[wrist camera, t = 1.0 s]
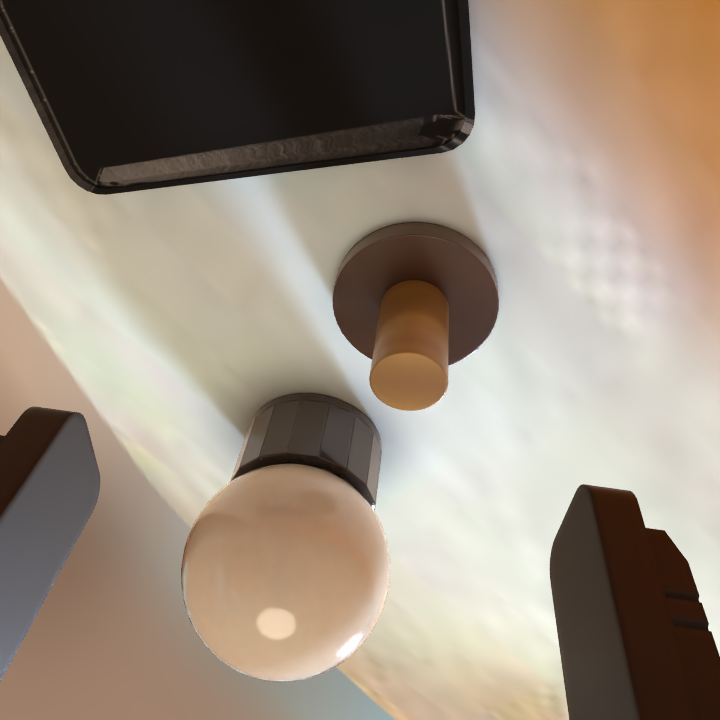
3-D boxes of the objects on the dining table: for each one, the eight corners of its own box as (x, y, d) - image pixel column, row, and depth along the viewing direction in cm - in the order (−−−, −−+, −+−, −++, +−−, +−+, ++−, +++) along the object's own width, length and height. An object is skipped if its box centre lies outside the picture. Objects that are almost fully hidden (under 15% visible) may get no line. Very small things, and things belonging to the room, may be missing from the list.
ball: (208, 409, 29) (131, 593, 22) (407, 435, 28) (393, 630, 22) (221, 527, 35) (164, 701, 28) (387, 550, 34) (370, 732, 27)
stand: (247, 384, 32) (225, 444, 29) (388, 403, 31) (381, 465, 28) (252, 475, 36) (234, 535, 33) (375, 492, 36) (368, 554, 33)
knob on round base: (340, 212, 25) (316, 292, 21) (514, 232, 25) (526, 318, 20) (332, 346, 29) (311, 435, 25) (480, 365, 29) (484, 458, 25)
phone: (477, 148, 22) (78, 198, 24) (476, 135, 22) (91, 185, 25) (459, -146, 17) (-37, -40, 20) (459, -148, 18) (-17, -46, 20)
